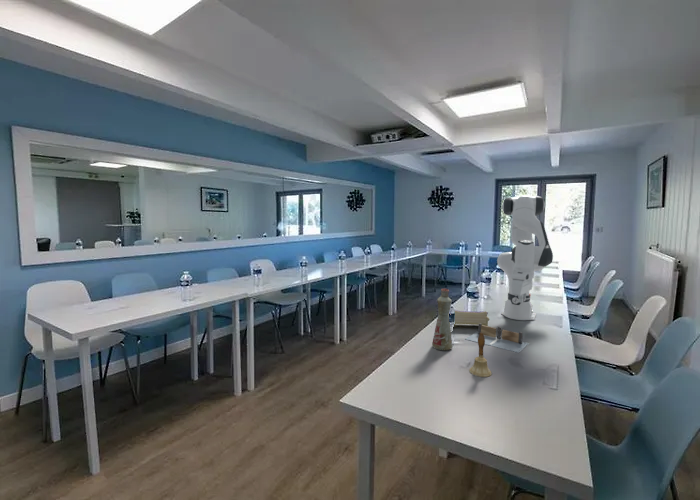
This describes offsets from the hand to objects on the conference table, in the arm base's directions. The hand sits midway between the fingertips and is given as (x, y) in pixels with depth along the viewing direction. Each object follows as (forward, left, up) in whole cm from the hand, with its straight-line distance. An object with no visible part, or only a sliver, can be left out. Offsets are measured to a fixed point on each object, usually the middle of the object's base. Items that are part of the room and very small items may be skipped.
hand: (521, 301), depth 175 cm
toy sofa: (-2, -28, -20) cm, 34 cm away
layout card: (+11, -7, -19) cm, 23 cm away
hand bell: (+49, 0, -19) cm, 53 cm away
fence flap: (+6, -2, -19) cm, 20 cm away
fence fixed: (+6, -13, -19) cm, 24 cm away
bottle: (+36, -23, -19) cm, 47 cm away
